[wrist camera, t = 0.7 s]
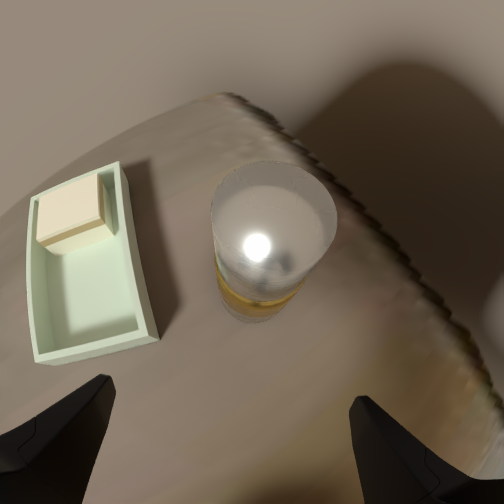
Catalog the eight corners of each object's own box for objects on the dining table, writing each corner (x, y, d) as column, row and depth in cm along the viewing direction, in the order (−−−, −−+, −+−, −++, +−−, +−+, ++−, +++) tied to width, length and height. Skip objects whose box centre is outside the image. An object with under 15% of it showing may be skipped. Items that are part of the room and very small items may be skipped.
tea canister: (299, 288, 24) (360, 209, 12) (256, 338, 22) (287, 302, 10) (250, 247, 25) (266, 142, 14) (205, 293, 23) (180, 211, 12)
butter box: (114, 236, 24) (99, 215, 21) (56, 257, 23) (35, 240, 19) (110, 195, 26) (97, 172, 22) (56, 216, 25) (39, 197, 21)
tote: (160, 340, 21) (148, 335, 18) (56, 365, 19) (35, 362, 16) (128, 181, 28) (119, 161, 24) (45, 213, 25) (31, 197, 22)
